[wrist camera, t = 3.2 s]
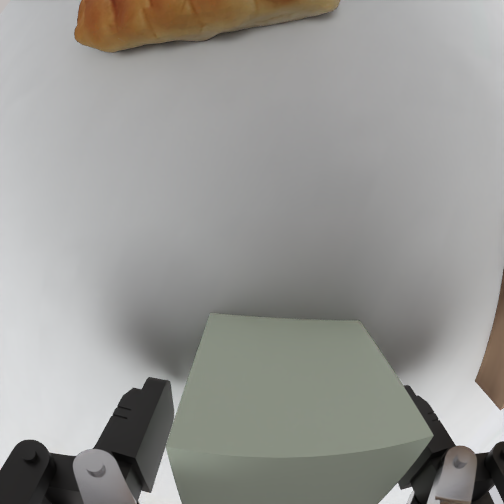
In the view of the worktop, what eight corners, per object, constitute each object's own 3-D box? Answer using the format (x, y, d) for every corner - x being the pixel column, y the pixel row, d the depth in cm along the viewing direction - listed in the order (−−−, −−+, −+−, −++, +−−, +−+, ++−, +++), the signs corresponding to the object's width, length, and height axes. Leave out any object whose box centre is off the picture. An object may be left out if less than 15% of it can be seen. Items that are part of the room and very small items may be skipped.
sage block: (210, 311, 10) (165, 446, 4) (358, 319, 10) (434, 435, 4) (210, 415, 11) (190, 528, 5) (328, 419, 11) (355, 524, 5)
